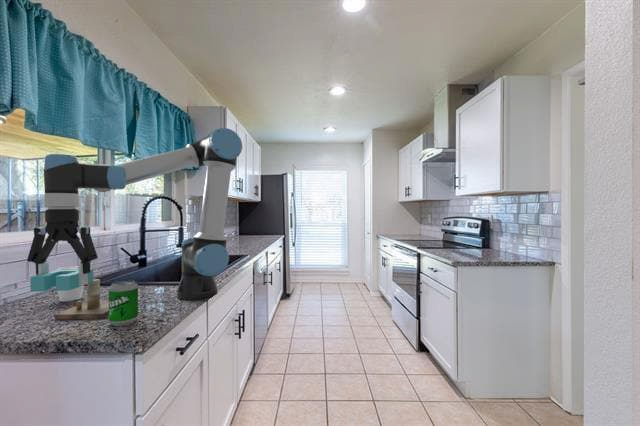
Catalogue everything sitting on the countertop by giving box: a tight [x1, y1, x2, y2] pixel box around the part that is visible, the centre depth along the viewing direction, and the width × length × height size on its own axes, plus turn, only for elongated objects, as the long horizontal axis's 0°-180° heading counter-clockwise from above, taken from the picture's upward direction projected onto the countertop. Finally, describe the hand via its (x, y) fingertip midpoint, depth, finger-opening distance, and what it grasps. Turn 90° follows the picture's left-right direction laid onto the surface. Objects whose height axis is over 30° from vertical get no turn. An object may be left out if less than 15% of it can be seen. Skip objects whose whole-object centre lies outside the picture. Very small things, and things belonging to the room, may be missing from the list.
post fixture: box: [54, 278, 108, 320], centre depth 103 cm, size 14×14×10 cm
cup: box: [55, 265, 85, 303], centre depth 117 cm, size 9×9×12 cm
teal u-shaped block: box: [29, 268, 94, 292], centre depth 89 cm, size 10×10×4 cm
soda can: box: [107, 280, 139, 327], centre depth 93 cm, size 8×8×12 cm
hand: (63, 285), depth 89 cm, fingers closed on teal u-shaped block, 10 cm apart
